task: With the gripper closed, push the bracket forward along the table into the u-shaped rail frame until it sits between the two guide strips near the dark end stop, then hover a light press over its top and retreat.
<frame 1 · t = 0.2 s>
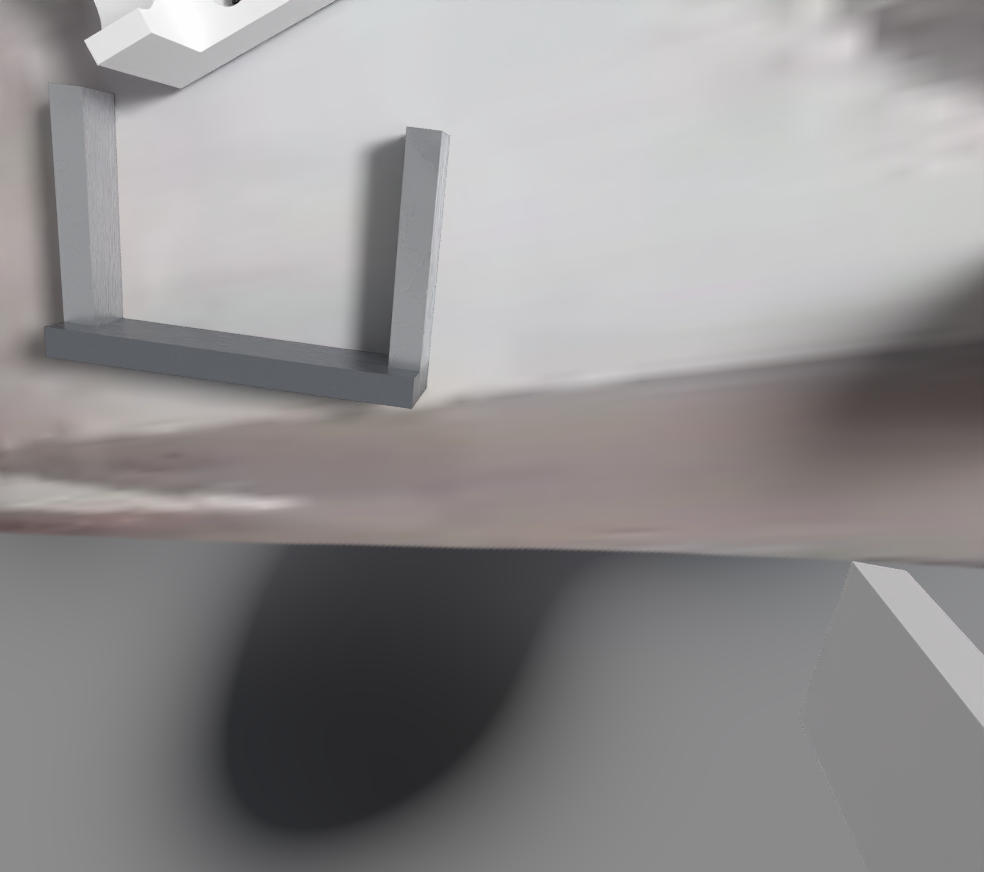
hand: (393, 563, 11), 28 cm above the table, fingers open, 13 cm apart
u-shaped rail frame: (261, 240, 37), on the table
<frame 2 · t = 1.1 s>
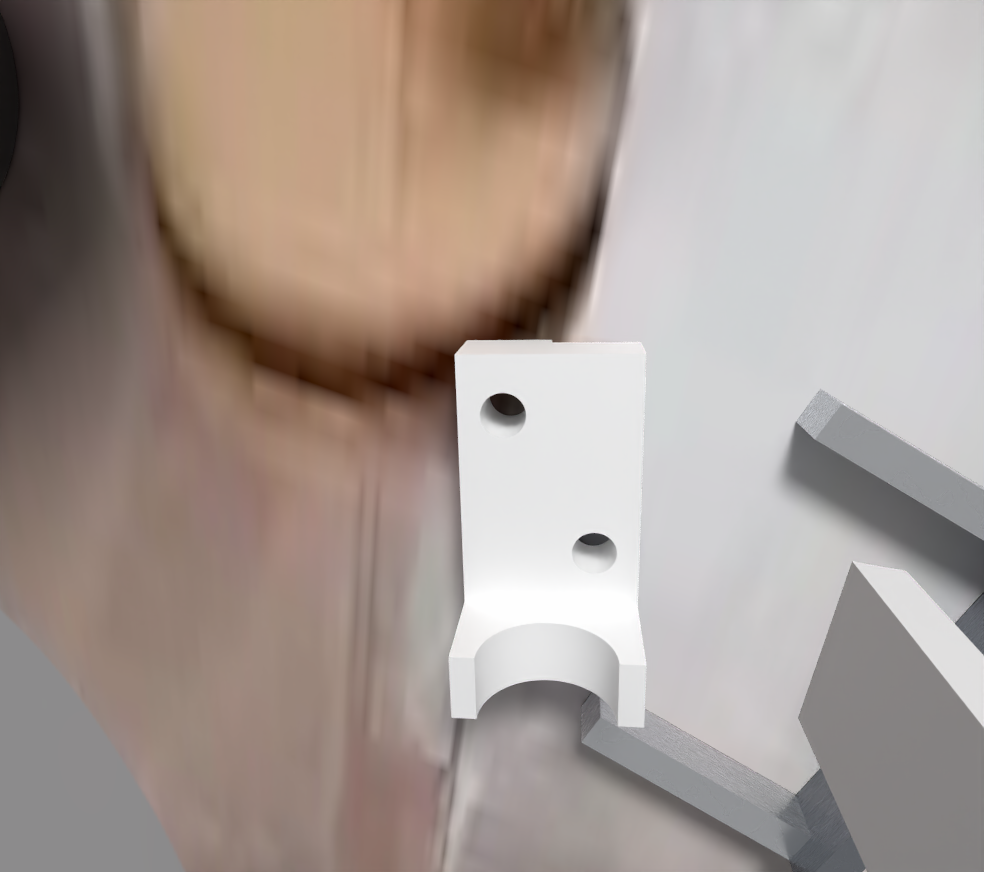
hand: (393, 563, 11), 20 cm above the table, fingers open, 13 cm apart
bracket: (552, 483, 33), on the table
u-shaped rail frame: (805, 628, 33), on the table
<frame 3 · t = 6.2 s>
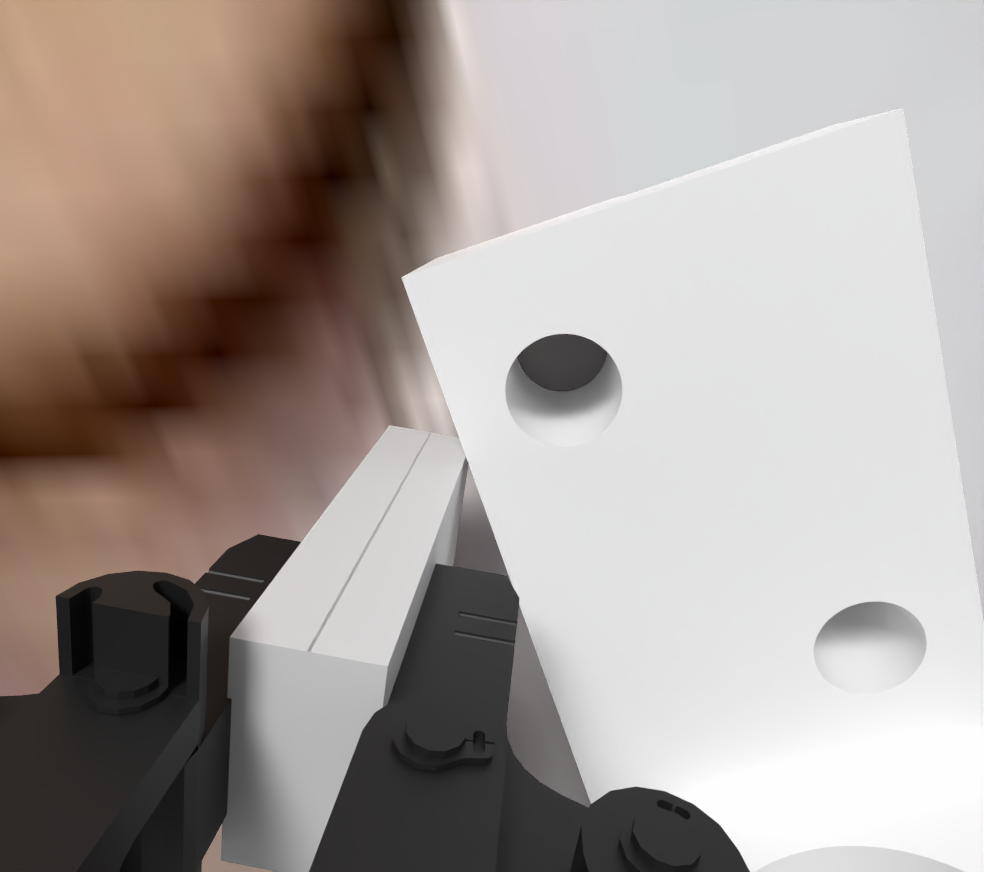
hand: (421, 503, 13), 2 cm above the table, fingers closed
bracket: (698, 503, 16), on the table
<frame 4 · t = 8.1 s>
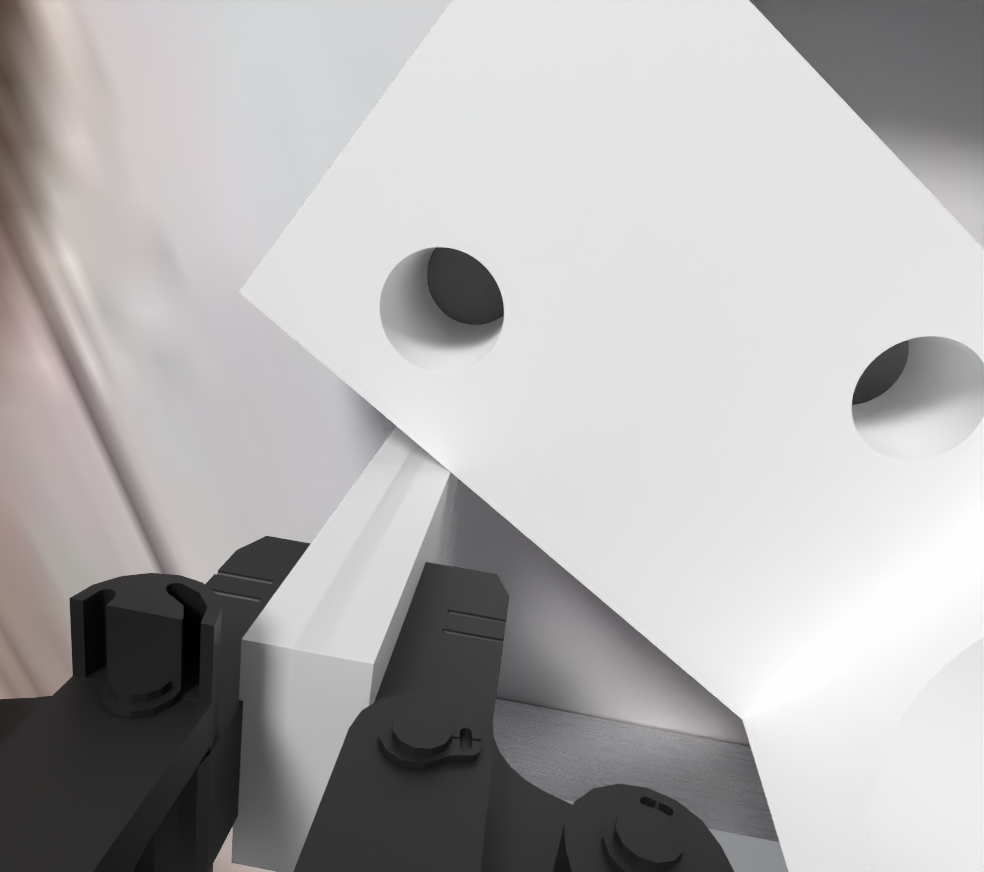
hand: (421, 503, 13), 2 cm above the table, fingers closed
bracket: (700, 354, 14), on the table, touching gripper, u-shaped rail frame
u-shaped rail frame: (840, 439, 14), on the table
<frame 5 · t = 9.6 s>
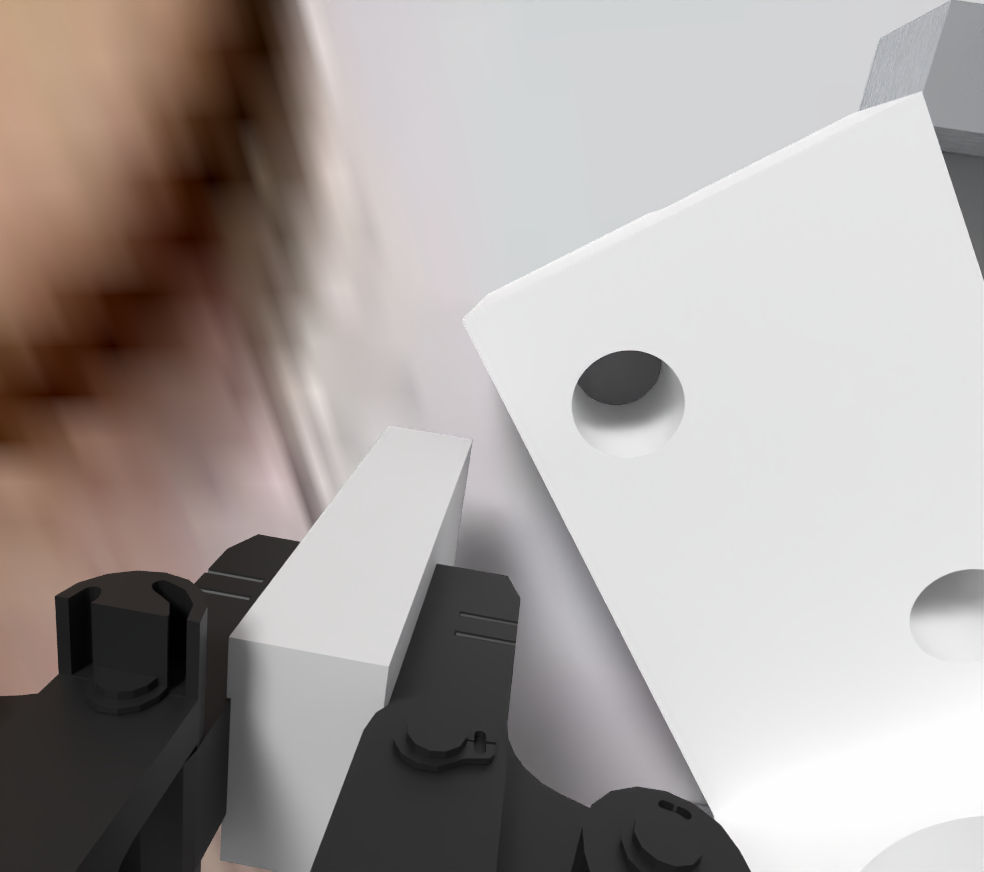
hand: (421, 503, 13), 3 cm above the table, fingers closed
bracket: (771, 494, 16), on the table
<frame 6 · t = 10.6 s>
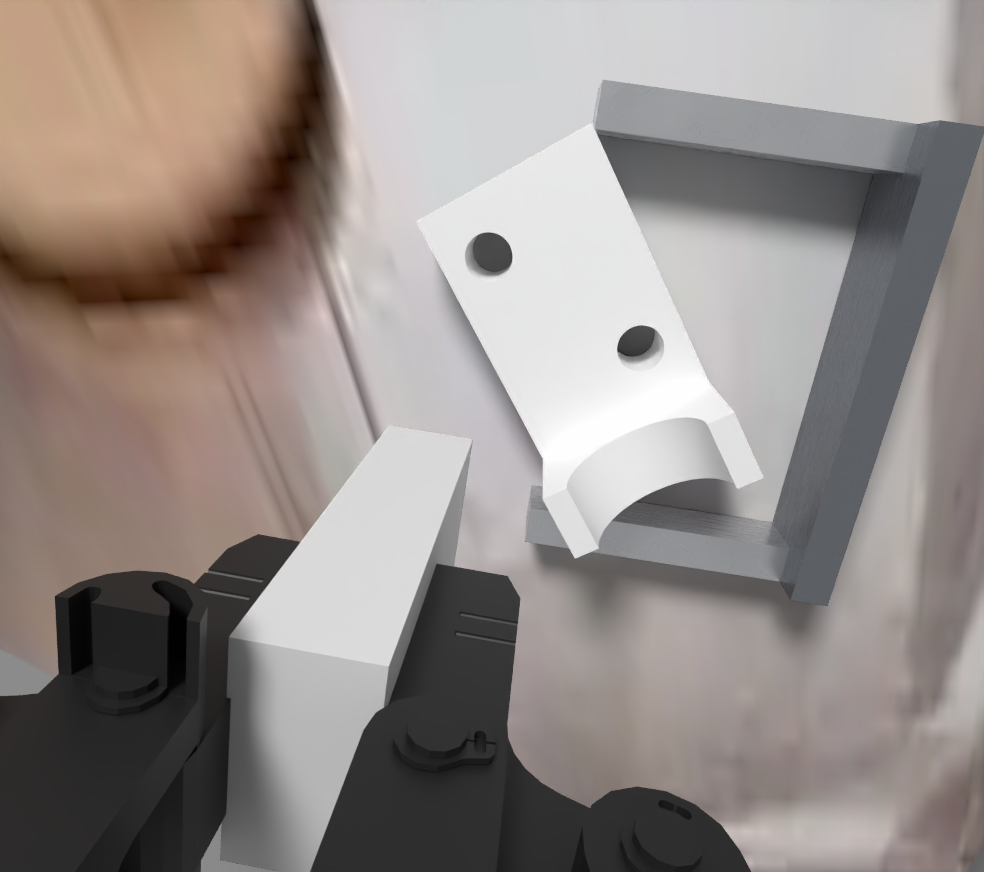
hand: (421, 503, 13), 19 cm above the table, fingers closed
bracket: (576, 317, 31), on the table
u-shaped rail frame: (700, 344, 31), on the table
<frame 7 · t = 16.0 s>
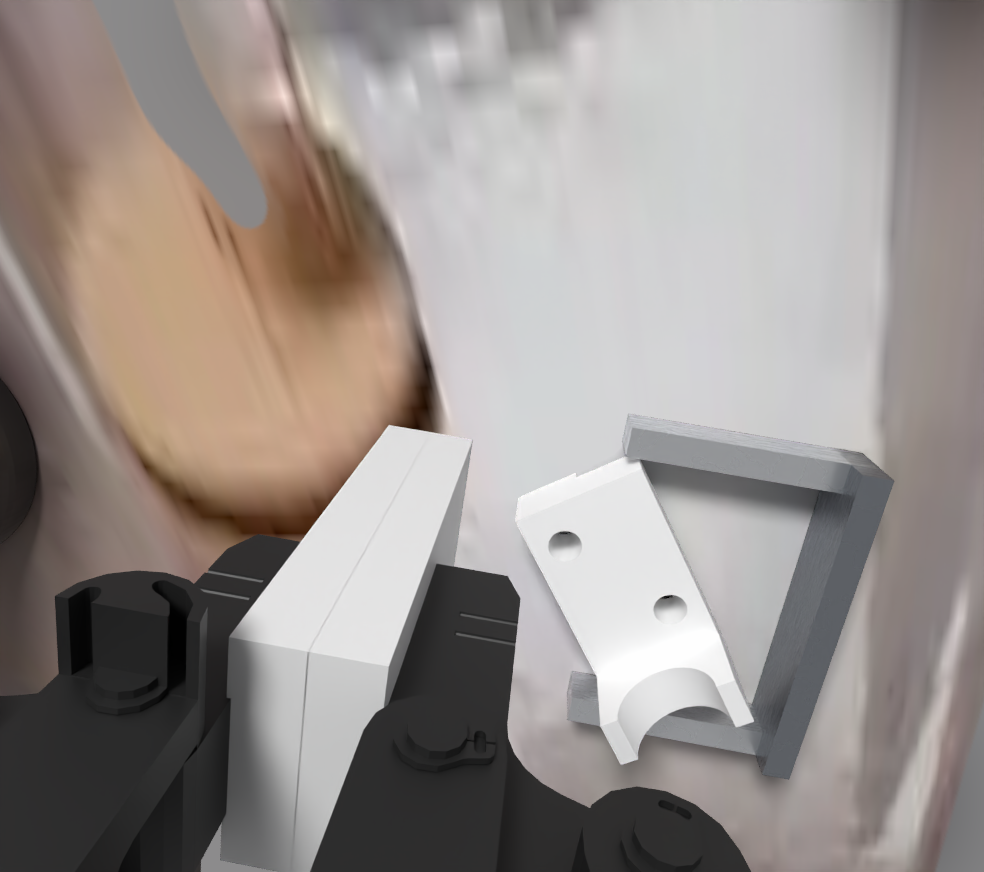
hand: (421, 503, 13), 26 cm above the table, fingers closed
bracket: (622, 564, 43), on the table
u-shaped rail frame: (699, 581, 42), on the table
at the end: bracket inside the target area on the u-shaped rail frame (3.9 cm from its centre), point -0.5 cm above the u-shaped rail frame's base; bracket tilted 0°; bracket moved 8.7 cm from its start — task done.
